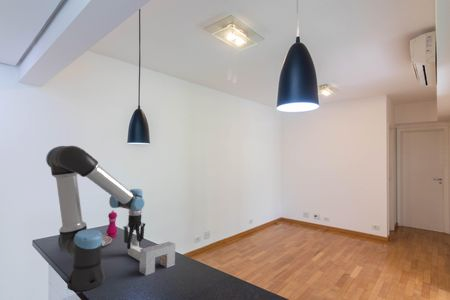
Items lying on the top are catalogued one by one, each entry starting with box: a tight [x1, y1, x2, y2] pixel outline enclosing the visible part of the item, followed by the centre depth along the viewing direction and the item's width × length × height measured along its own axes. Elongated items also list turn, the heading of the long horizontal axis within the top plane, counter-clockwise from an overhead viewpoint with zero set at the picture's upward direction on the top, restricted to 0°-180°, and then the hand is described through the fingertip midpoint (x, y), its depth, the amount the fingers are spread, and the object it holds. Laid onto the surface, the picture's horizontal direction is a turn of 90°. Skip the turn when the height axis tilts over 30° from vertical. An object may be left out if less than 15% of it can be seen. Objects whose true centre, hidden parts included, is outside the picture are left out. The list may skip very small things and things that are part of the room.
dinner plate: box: [102, 234, 113, 247], centre depth 164 cm, size 28×27×3 cm
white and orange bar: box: [127, 244, 157, 262], centre depth 144 cm, size 24×4×5 cm, turn 48°
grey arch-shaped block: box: [138, 241, 176, 276], centre depth 133 cm, size 6×18×12 cm, turn 138°
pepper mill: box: [106, 209, 118, 239], centre depth 183 cm, size 7×7×20 cm
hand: (133, 252), depth 150 cm, fingers closed on white and orange bar, 4 cm apart
